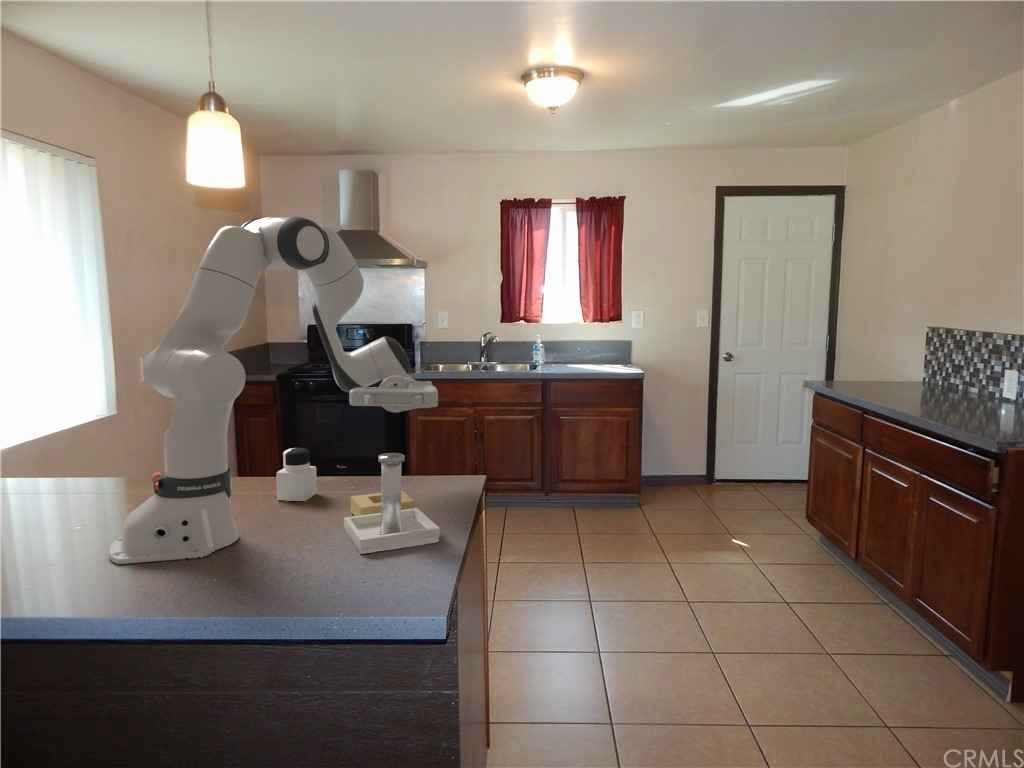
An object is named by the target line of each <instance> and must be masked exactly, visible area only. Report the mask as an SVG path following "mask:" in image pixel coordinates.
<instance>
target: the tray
mask: <svg viewBox="0 0 1024 768" xmlns="http://www.w3.org/2000/svg"><path fill="white" fill-rule="evenodd" d="M410 518H415V519H416V520H417V521H418V522H420V523H421V524H422V525H423V526H424V527H425V528H426V529H419V530H412V531H406V532H399V533H392V534H385V535H381V534H380V531H381V530H380V529H381V513H376V514H368V515H361V516H345V517H343V530H344V529H345V531H346V532H347V533H348V535H349V536H350V538H351V539H352V540H353V542H354V543H355V544H356V545H357V547H358V548H359V549H360V551H363V550H368V549H372V548H377V547H381V546H386V545H391V544H397V543H401V542H406V541H413V540H418V539H424V538H430V537H436V536H440V537H441V527H439V526H438V525H437V524H436V523H435V522H433V521H432V519H430V518H429V517H428V516H427V515H426V514H424V512H422V510H420V509H419V508H418V507H414V509H406V510H401V520H403V519H410ZM379 534H380V535H379Z"/></svg>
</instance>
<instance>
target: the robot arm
mask: <svg viewBox="0 0 1024 768" xmlns="http://www.w3.org/2000/svg"><path fill="white" fill-rule="evenodd" d="M265 269H271V270H277V271H295V270H298V271H299V270H301V271H302V270H304V271H305V273H306V275H307V277H308V278H309V280H310V282H311V284H312V285H313V288H314V292H315V301H314V302H313V303H312V305H311V307H312V308H311V309H312V315H313V319H314V322H315V325H316V328H317V331H318V334H319V337H320V339H321V342H322V344H323V347H324V350H325V352H326V354H327V357H328V360H329V363H330V365H331V370H332V375H333V378H334V381H335V383H336V385H337V386H338V388H340V390H341V391H343V392H345V393H348V394H349V395H348V396H349V397H348V398H349V399H348V401H349V406H352V407H353V406H354V407H382V408H383V409H385V410H386V411H387V412H390V413H401V412H404V411H409V410H416V409H417V410H418V409H430V408H436V407H438V405H439V392H438V391H439V390H438V389H437V387H436V386H435V385H433V382H432V381H430V380H423V379H416V378H412V376H411V375H410V373H411V367H412V365H411V362H410V359H409V356H408V354H407V352H406V351H405V349H404V347H403V346H402V345H401V343H400V342H399V341H398V340H396V339H395V338H393V337H390V336H388V335H387V336H382V337H380V338H378V339H376V340H374V341H372V342H369V343H368V344H366V345H364V346H361V347H360V348H357V349H355V350H353V351H351V352H348V351H347V352H346V351H345V350H344V348H343V345H342V342H341V339H340V337H339V334H338V332H337V326H338V324H339V322H340V321H341V320H342V318H343V317H344V316H345V315H346V314H347V313H348V312H349V311H350V310H351V309H352V308H353V307H354V306H355V305H356V304H357V302H358V301H359V299H360V297H362V293H363V291H364V285H365V282H364V278H363V276H362V272H361V270H360V268H359V265H358V263H357V261H356V260H355V258H354V256H353V255H352V253H351V251H350V250H349V248H348V246H347V245H346V243H345V242H344V241H343V240H342V238H341V236H339V235H338V233H337V232H336V230H334V229H333V228H332V227H331V226H329V225H325V224H318V223H316V222H315V221H313V220H311V219H309V218H306V217H303V216H302V217H301V216H293V217H289V216H280V215H279V216H277V215H275V216H274V215H273V216H268V217H260V218H259V217H257V218H254V219H250V220H247V222H245V223H243V224H242V225H241V226H238V225H228V226H227V225H226V226H224V227H222V228H220V229H219V230H218V231H217V232H216V234H215V235H214V236H213V238H212V239H211V241H210V243H209V245H208V246H207V248H206V250H205V252H204V254H203V255H202V258H201V261H200V263H199V265H198V268H197V270H196V273H195V275H194V278H193V280H192V283H191V286H190V288H189V291H188V293H187V296H186V299H185V301H184V303H183V306H182V307H181V310H180V311H179V313H178V314H177V316H176V318H175V319H174V322H172V324H171V326H170V328H169V329H168V331H167V332H166V333H165V335H164V337H163V338H162V340H161V341H160V343H159V344H158V345H157V346H156V347H155V348H154V349H153V350H152V351H150V352H149V354H147V356H146V358H145V359H144V362H143V366H142V371H143V377H144V379H145V381H146V383H147V384H148V385H149V386H150V387H151V388H152V389H154V391H156V392H157V393H158V394H161V395H163V396H164V397H166V398H170V399H173V401H174V402H173V403H174V405H173V409H172V410H173V411H172V415H171V416H172V417H171V419H170V423H169V426H168V427H167V428H166V430H165V432H164V435H163V449H164V450H163V452H164V469H165V472H164V473H162V472H159V471H156V472H154V473H153V474H152V475H151V481H152V483H153V490H154V491H153V493H154V494H153V495H151V497H149V498H147V499H146V500H145V501H144V502H143V503H141V504H140V505H139V506H137V508H135V509H134V510H132V511H131V512H130V513H129V515H128V516H127V518H126V519H125V521H124V524H123V528H122V532H121V533H122V535H121V536H120V537H117V538H116V539H115V540H114V541H113V542H112V543H111V544H110V547H109V551H108V557H109V560H110V561H111V562H113V563H115V564H118V565H121V564H122V565H125V564H137V563H148V562H160V561H161V562H162V561H174V560H186V558H188V559H197V558H198V557H200V558H204V556H205V557H207V555H208V556H210V555H211V554H213V553H214V552H216V551H218V550H221V549H222V548H226V547H228V546H230V545H232V544H234V543H235V542H236V541H237V540H238V539H239V538H240V533H239V531H238V528H237V524H236V522H235V521H236V520H235V517H234V513H233V507H232V502H231V497H232V492H233V491H232V489H233V488H232V486H233V485H232V474H231V470H230V468H229V465H228V428H229V422H230V417H231V414H232V409H233V405H234V402H235V400H236V398H238V397H239V396H240V394H241V393H242V392H243V390H244V388H245V384H246V378H247V377H246V371H245V368H244V365H243V363H242V362H241V361H240V360H239V359H238V358H237V357H236V356H234V355H233V354H230V353H229V352H227V351H225V350H223V349H224V348H225V346H226V344H227V343H228V342H229V341H230V340H231V339H232V337H233V336H234V335H235V334H237V333H238V332H239V331H240V330H241V329H242V327H243V326H244V324H245V321H246V318H247V316H248V312H249V310H250V308H251V304H252V301H253V298H254V295H255V293H256V290H257V286H258V283H259V282H260V281H259V279H260V276H261V275H262V273H263V272H264V271H265ZM380 381H381V382H380ZM379 382H380V384H379V385H378V386H372V385H375V384H376V383H379ZM225 546H226V547H225ZM220 548H221V549H220ZM217 549H218V550H217ZM215 550H216V551H215ZM212 552H213V553H212ZM209 554H210V555H209ZM198 559H199V558H198Z"/></svg>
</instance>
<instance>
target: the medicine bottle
mask: <svg viewBox="0 0 1024 768" xmlns="http://www.w3.org/2000/svg"><path fill="white" fill-rule="evenodd" d="M282 458H283V460H282V461H283V468H282V469H280V470H278V471H277V472H276V494H277V495H276V500H277V501H278V500H297V501H306V500H308V499H309V498H310V499H311V497H312V496H313V495H314V496H316V495H317V494H318V492H317V491H318V487H317V482H318V480H317V466H315V465H314V466H313V465H311V461H310V459H311V456H310V451H309V449H307V448H304V447H294V448H293V447H292V448H288V449H286V450H284V451H283V453H282ZM316 493H317V494H316ZM315 494H316V495H315ZM314 496H313V497H314ZM313 497H312V498H313ZM310 499H309V500H310ZM309 500H308V501H309ZM306 502H307V501H306Z"/></svg>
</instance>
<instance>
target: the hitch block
mask: <svg viewBox="0 0 1024 768" xmlns="http://www.w3.org/2000/svg"><path fill="white" fill-rule="evenodd" d="M414 508H415V500H413V498H411V497H410V496H409V494H407V493H406V492H405V491H403V490H402V489H401V510H406V509H414ZM351 512H352V513H353V514H354V516H361V515H368V514H376V513H381V492H377V493H375V492H373V493H369V494H366V493H365V494H359V495H351V496H350V513H351Z"/></svg>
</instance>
